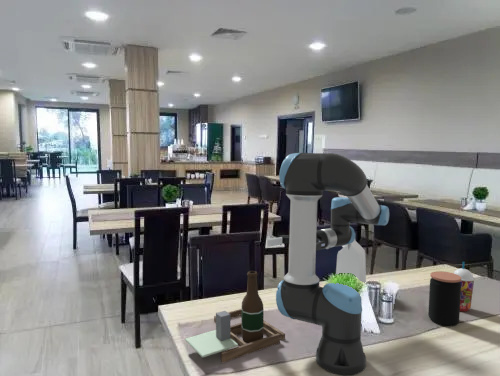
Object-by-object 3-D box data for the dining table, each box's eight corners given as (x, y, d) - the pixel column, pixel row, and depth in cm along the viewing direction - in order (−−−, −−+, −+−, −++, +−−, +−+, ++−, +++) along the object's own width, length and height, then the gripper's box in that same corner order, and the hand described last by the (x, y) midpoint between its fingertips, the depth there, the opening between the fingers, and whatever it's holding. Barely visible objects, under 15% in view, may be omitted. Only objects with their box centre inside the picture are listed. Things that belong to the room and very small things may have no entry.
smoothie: (468, 315, 153) (470, 266, 151) (446, 308, 159) (448, 261, 157) (475, 309, 158) (478, 262, 156) (454, 303, 164) (456, 258, 163)
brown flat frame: (286, 340, 132) (286, 332, 132) (222, 362, 118) (222, 353, 117) (243, 312, 154) (243, 305, 154) (185, 328, 140) (185, 320, 140)
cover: (237, 345, 122) (237, 319, 121) (202, 357, 115) (202, 329, 114) (218, 330, 132) (218, 306, 131) (185, 340, 125) (184, 314, 124)
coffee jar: (462, 320, 148) (464, 275, 146) (454, 329, 140) (457, 282, 138) (433, 312, 155) (435, 269, 153) (424, 321, 147) (426, 275, 146)
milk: (359, 297, 171) (361, 240, 169) (334, 292, 177) (336, 237, 175) (365, 288, 182) (367, 235, 179) (342, 284, 187) (343, 232, 185)
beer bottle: (261, 345, 128) (261, 276, 126) (239, 343, 130) (238, 274, 127) (265, 334, 136) (265, 269, 133) (243, 332, 137) (243, 267, 135)
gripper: (345, 255, 139) (300, 265, 127) (301, 242, 159) (259, 249, 147) (346, 235, 138) (300, 243, 126) (301, 224, 158) (259, 230, 147)
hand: (278, 246), depth 137 cm, fingers open, 12 cm apart
